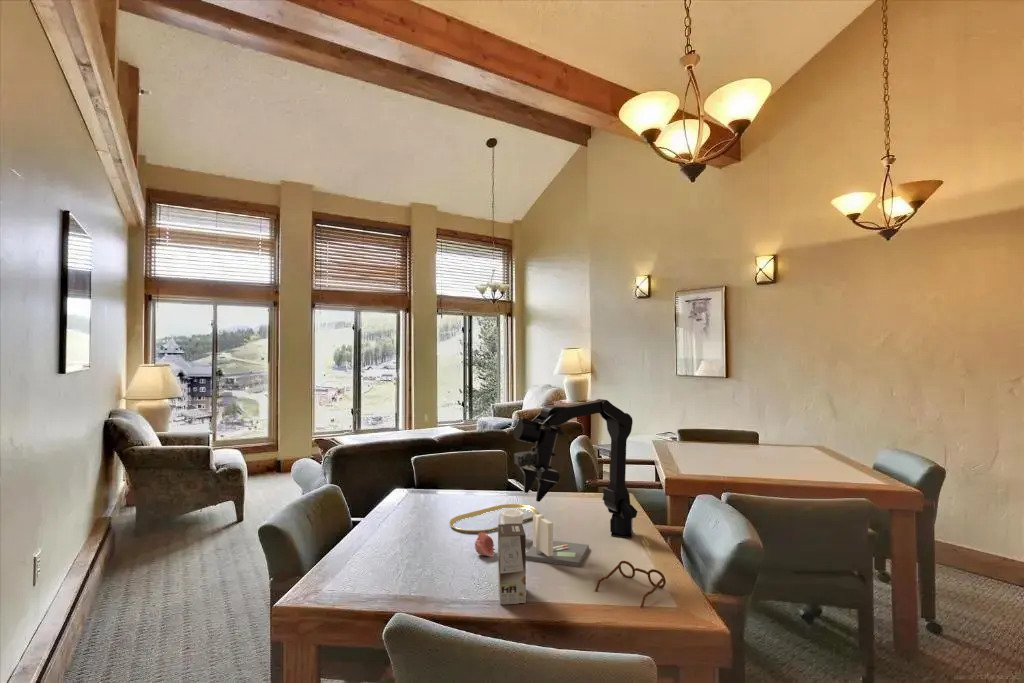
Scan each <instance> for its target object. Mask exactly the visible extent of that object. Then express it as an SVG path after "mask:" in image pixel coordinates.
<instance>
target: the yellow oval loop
mask: <svg viewBox="0 0 1024 683" xmlns="http://www.w3.org/2000/svg"><path fill="white" fill-rule="evenodd" d="M502 508H519V509H518V510H523V509H526V510H525V511H527V510H530V511H532V512H533V513H534V515H535V514H538V510H537V509H536V508H534V507H533V506H530V505H525V504H520V503H519V504H516V503H507V504H500V505H494V506H491V507H487V508H482V509H479V510H476V511H471V512H468V513H463V514H459V515H457V516H454V517H452V518H451V519H450V520H449V525H450V527H451V528H452V529H453V528H454V529H453V530H455V531H457V530H458V531H457V532H460V531H461V533H465V532H467V533H466V534H480V532H481V533H482V532H484V531H485V533H489V531H490V532H493V530H494V531H496V530H497V531H498V526H496V527H492V528H487V529H479V530H478V529H476V530H475V529H473V530H472V529H463V528H458V527H456V526H455V527H454V526H453V524H454V523H455V522H456V521H458V520H461V519H464V520H466V519H465V518H468V519H470V518H469V517H471V518H475V517H478V516H477V515H479V516H482V515H481V514H483V513H486V512H490V511H494V512H496V511H495V510H498V509H502ZM502 510H503V509H502ZM498 511H499V510H498ZM530 511H529V512H530ZM490 513H491V512H490ZM486 514H487V513H486ZM483 515H484V514H483ZM474 516H475V517H474ZM531 520H533V515H532V516H530V517H529V516H528V517H526V518H523V521H524V522H527V521H531ZM461 521H462V520H461ZM458 522H459V521H458ZM479 531H480V532H479Z"/></svg>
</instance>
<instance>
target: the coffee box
mask: <svg viewBox="0 0 1024 683" xmlns="http://www.w3.org/2000/svg"><path fill="white" fill-rule="evenodd" d="M497 527H498V529H497V552H498V553H497V557H498V558H497V562H498V563H497V564H498V566H497V567H498V568H497V569H498V571H497V572H498V573H497V574H498V575H497V577H498V583H497V584H498V586H497V587H498V596H499V597H498V598H499V599H498V600H499V604H500V605H501V604H502V605H520V604H519V603H524V604H526V600H527V599H526V597H527V596H526V595H527V582H526V580H527V578H526V575H527V573H526V572H527V571H526V570H527V569H526V568H527V567H526V561H527V560H526V552H527V551H526V548H527V546H526V545H527V544H526V543H527V542H526V540H527V538H526V537H527V536H526V533H525V529H524V525H523V522H522V523H520V524H504V523H503V524H502V523H501V524H499V523H498V524H497Z"/></svg>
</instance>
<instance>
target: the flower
mask: <svg viewBox="0 0 1024 683" xmlns="http://www.w3.org/2000/svg"><path fill="white" fill-rule="evenodd" d="M479 532H480V531H479ZM477 536H478V537H477V538H476V540H475V542H474V549H475V551H476V553H477V554H478V555H480V556H483V557H484V556H488V557H491V558H492V557H494V556H495V555H494V554H496V552H495V550H496V549H495V548H494V547H495V545H494V539H492V537H491V536H489V534H488V533H486V532H485V531H484V533H483V532H482V533H481V532H480V533H477Z"/></svg>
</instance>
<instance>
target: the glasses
mask: <svg viewBox="0 0 1024 683" xmlns="http://www.w3.org/2000/svg"><path fill="white" fill-rule="evenodd" d="M622 564H625V565H628V566H629V568H631V571H632V573H631V574H632V575H626V574H625V573H624V571H622ZM616 571H618V572H619V573H620V575H621V576H623V577H624V578H626V579H630V580H631V579H634V578H635V576H636V571H637V572H638V573H642V574H646V575H647V578H648V582H649V584H651V585H652V586H653V587H652V589H651V590H649V591H647V592H646V593H645V594H644V595H642V596H643V597H642V598H641V599H642V600H641V603H640V607H639V609H641V608H642V607H643V608H644V606H645V602H646V599H647V597H648V596H650V595H652V594H654V593H655V591H657V589H663V588H665V586H666V583H667V581H666V577H665V575H664V573H663V572H661V571H660V570H658V569H653V568H652V569H649V570H648V571H647V570H646V569H642V568H639V567H634V565H633V564H632V563H631V562H629V561H627V560H621V561H619V563H618V564H617V565H616V566H615V567H614V568H613V569H612V570H611V571H610V572H609V573H608V575H606V576H603V577H601V578H599V580H597V584H596V586H595V589H594V593H597V592H599V588H600V586H601V583H602V582H603V581H605V580H608V579H610V577H611V576H612V575H613V574H615V572H616ZM652 573H656V574H658V575H659V576H660V577H661V578H660V579H659V581H658V582H657V583H655V582H654V581H653V580H652V578H651V574H652ZM643 608H642V609H643Z"/></svg>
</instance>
